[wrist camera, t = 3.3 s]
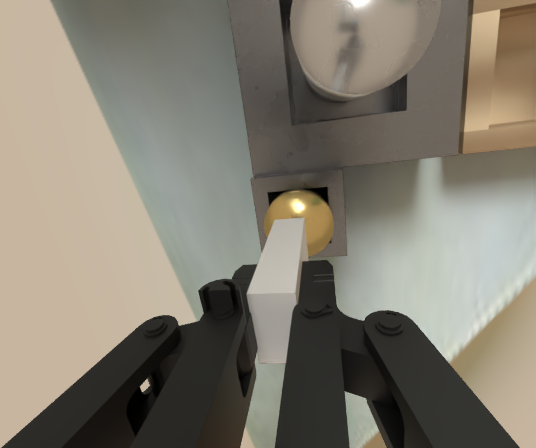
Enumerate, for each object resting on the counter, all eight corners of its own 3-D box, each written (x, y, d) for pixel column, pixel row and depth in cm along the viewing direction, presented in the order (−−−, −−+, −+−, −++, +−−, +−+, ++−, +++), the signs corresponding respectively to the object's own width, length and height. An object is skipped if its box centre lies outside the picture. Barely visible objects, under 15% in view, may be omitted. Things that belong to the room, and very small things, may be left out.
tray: (448, 6, 22) (475, -15, 18) (614, -25, 20) (681, -56, 16) (441, 148, 25) (462, 154, 21) (583, 132, 23) (633, 136, 20)
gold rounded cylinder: (274, 175, 25) (259, 195, 19) (328, 169, 24) (331, 189, 18) (280, 224, 27) (268, 259, 20) (331, 220, 26) (335, 255, 19)
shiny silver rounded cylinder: (301, 32, 21) (282, -56, 10) (376, 18, 20) (445, -97, 9) (307, 108, 23) (297, 103, 12) (377, 98, 22) (437, 83, 11)
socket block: (247, -7, 24) (214, -62, 16) (427, -48, 21) (487, -135, 14) (276, 223, 30) (262, 259, 22) (419, 212, 27) (457, 249, 20)
